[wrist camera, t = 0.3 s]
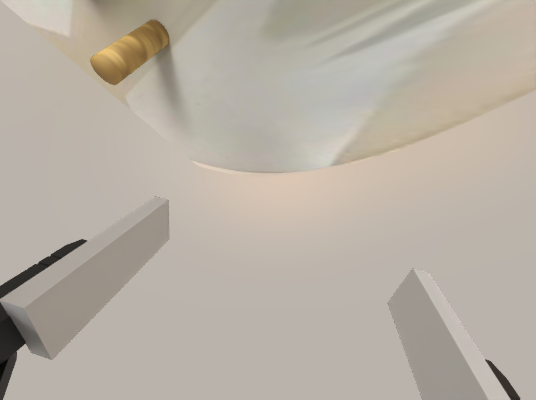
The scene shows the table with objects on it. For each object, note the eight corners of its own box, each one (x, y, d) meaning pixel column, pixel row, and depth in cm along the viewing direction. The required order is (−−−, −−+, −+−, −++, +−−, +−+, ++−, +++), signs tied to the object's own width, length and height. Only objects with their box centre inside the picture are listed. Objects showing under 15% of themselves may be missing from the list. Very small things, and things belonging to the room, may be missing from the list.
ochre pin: (143, 25, 39) (85, 61, 31) (156, 15, 36) (98, 51, 29) (160, 49, 41) (110, 87, 34) (173, 41, 39) (123, 80, 32)
